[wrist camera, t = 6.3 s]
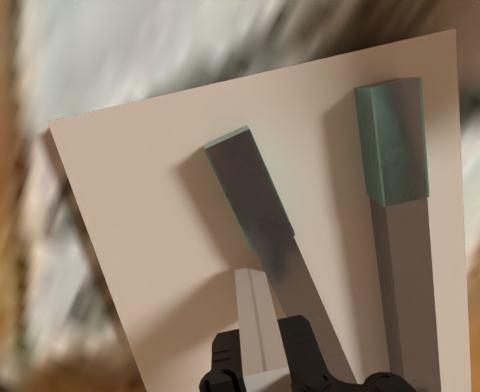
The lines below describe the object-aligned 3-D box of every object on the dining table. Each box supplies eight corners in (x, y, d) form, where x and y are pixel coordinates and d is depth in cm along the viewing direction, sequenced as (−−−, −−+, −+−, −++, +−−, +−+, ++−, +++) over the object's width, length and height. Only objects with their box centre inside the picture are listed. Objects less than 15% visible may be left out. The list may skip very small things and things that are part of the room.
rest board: (59, 119, 17) (47, 121, 16) (440, 32, 16) (455, 27, 15) (189, 483, 24) (187, 503, 23) (461, 428, 23) (473, 445, 22)
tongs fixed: (311, 95, 17) (336, 97, 13) (386, 78, 17) (433, 75, 13) (365, 438, 23) (392, 507, 19) (420, 427, 23) (459, 494, 19)
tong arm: (206, 143, 16) (204, 149, 14) (247, 124, 16) (249, 128, 14) (340, 427, 21) (349, 453, 19) (372, 415, 21) (384, 441, 19)
